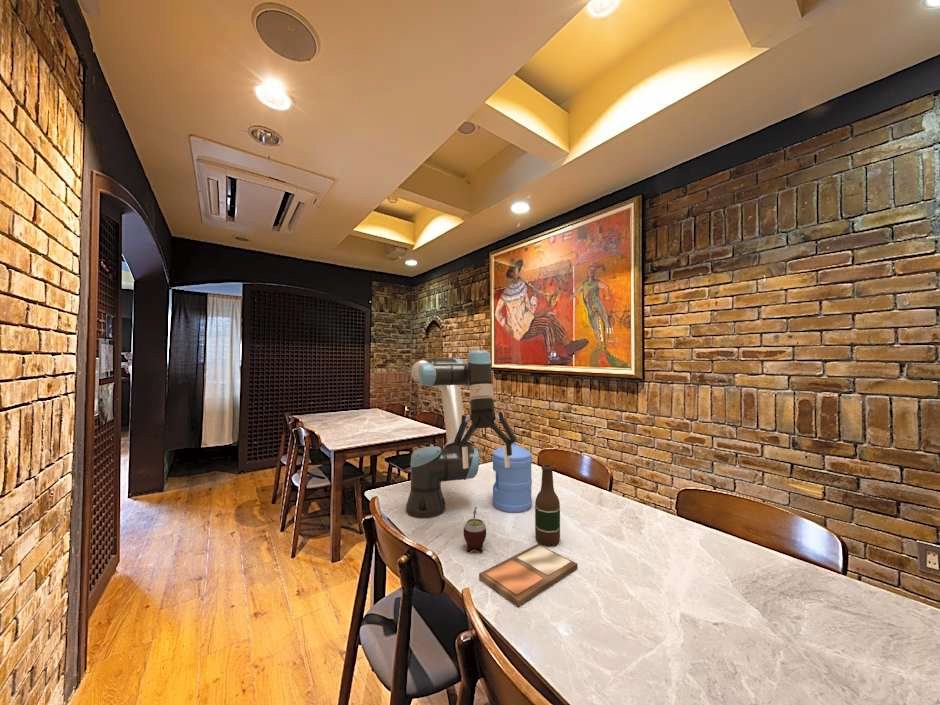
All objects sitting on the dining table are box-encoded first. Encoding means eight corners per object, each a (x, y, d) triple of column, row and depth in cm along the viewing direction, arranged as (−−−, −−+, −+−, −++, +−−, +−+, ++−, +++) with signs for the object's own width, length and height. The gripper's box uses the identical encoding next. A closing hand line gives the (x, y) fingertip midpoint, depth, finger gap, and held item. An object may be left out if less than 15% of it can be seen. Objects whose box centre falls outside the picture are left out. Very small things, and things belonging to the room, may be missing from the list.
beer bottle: (560, 548, 110) (560, 470, 111) (534, 546, 112) (534, 468, 112) (559, 536, 118) (559, 462, 118) (535, 534, 119) (535, 461, 120)
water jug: (537, 502, 146) (537, 433, 146) (521, 516, 132) (521, 440, 133) (503, 494, 154) (503, 429, 155) (485, 507, 141) (485, 435, 141)
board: (479, 579, 95) (479, 572, 95) (537, 548, 110) (537, 542, 110) (518, 607, 84) (518, 599, 84) (577, 569, 100) (577, 562, 100)
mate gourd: (474, 540, 115) (474, 493, 116) (493, 549, 110) (493, 500, 110) (457, 549, 110) (457, 499, 110) (476, 559, 104) (476, 507, 105)
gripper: (441, 401, 116) (444, 469, 112) (516, 394, 107) (523, 468, 103) (451, 402, 123) (454, 467, 118) (522, 395, 114) (528, 465, 110)
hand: (486, 467), depth 111 cm, fingers open, 13 cm apart
